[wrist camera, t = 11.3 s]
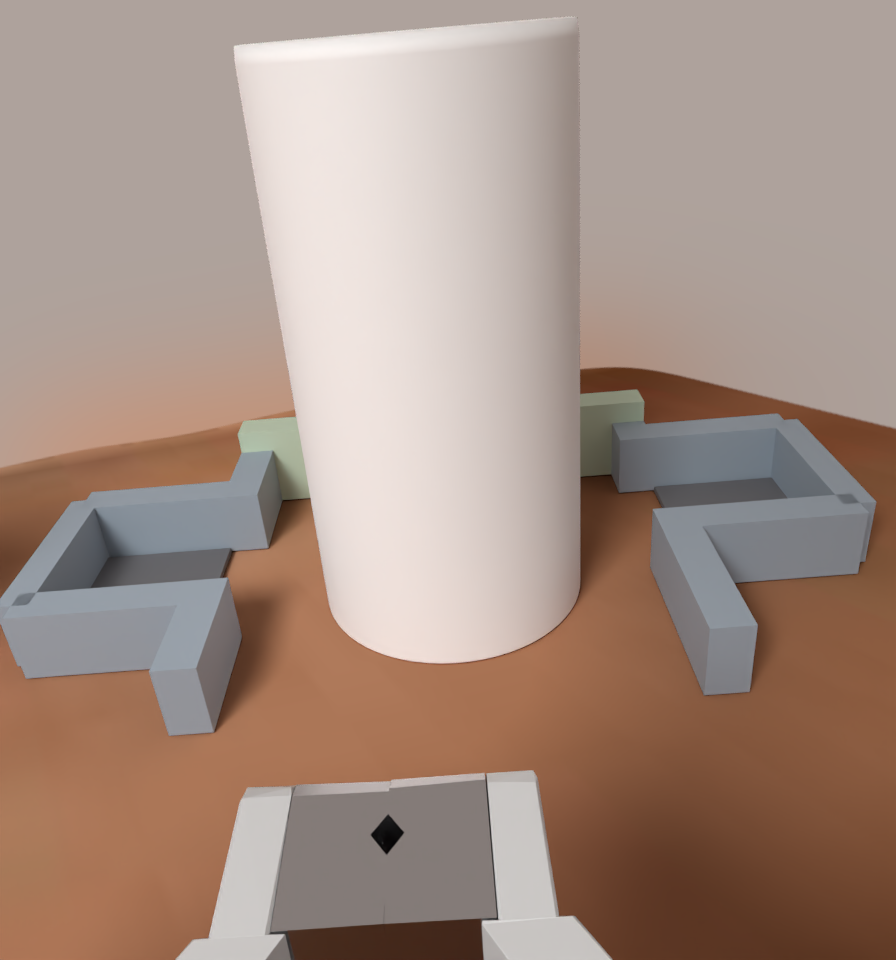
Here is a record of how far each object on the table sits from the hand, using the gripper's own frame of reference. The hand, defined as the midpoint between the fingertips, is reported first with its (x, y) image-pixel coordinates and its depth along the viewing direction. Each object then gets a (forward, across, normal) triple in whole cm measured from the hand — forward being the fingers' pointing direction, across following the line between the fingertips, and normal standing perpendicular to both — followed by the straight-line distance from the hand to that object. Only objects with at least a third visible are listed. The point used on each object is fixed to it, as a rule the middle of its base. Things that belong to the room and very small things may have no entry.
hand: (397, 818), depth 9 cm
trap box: (+17, -1, +9) cm, 19 cm away
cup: (+17, -1, +9) cm, 19 cm away
